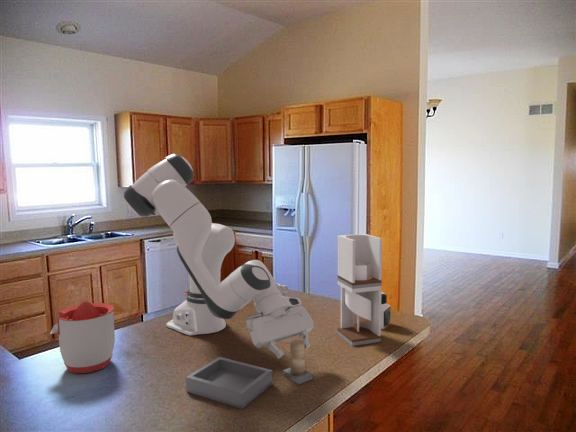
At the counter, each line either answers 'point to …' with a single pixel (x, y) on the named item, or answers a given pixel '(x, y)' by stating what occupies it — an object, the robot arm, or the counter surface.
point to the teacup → (281, 288)
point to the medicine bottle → (384, 311)
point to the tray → (229, 382)
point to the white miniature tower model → (360, 288)
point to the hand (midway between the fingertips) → (294, 352)
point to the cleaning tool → (297, 363)
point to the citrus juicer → (86, 336)
